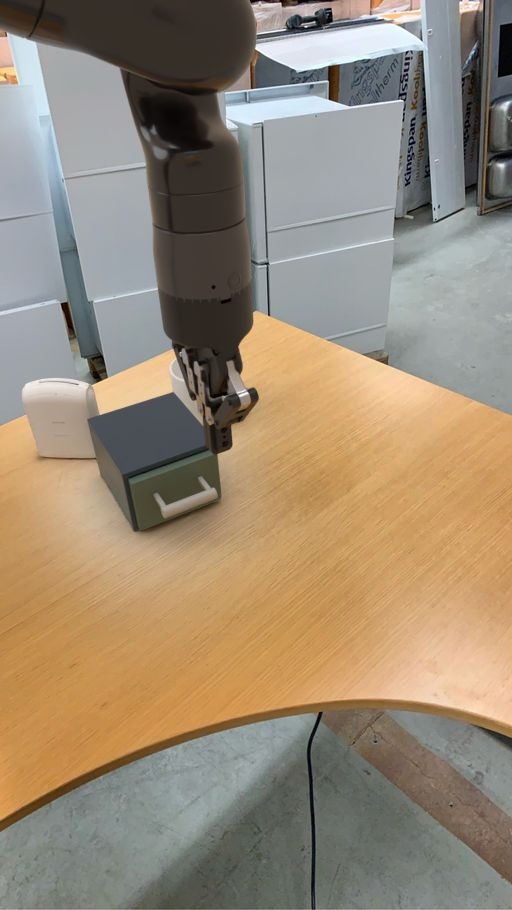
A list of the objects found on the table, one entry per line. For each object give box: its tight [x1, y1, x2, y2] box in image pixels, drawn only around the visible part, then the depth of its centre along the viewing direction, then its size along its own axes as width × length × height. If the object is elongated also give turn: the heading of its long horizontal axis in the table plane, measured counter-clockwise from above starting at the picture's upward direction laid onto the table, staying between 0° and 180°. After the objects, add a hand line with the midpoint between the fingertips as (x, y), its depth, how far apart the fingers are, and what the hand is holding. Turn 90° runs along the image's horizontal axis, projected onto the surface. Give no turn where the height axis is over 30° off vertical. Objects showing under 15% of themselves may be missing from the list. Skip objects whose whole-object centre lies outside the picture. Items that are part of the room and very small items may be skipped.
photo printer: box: [21, 377, 101, 459], centre depth 94 cm, size 10×4×12 cm, turn 85°
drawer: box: [128, 450, 222, 531], centre depth 85 cm, size 17×11×8 cm
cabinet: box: [87, 391, 222, 533], centre depth 88 cm, size 14×13×10 cm
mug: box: [168, 357, 203, 425], centre depth 102 cm, size 13×10×8 cm
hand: (219, 448), depth 62 cm, fingers closed
